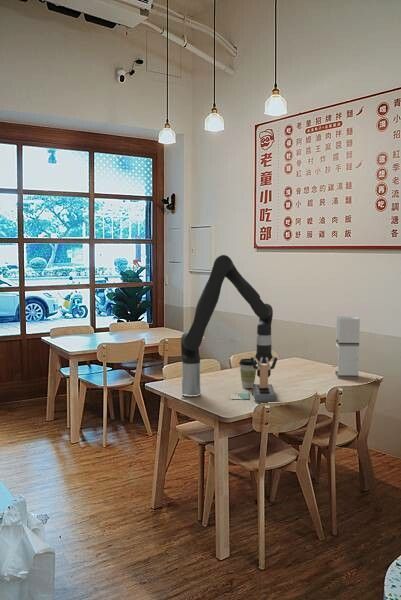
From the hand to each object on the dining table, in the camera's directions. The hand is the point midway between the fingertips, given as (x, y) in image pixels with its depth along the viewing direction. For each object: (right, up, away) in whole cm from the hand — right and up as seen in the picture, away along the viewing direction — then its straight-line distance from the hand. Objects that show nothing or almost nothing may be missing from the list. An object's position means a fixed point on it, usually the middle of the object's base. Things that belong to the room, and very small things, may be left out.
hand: (263, 376), depth 271 cm
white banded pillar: (+54, -6, +43) cm, 69 cm away
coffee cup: (-6, -9, +20) cm, 23 cm away
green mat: (-12, -10, +2) cm, 16 cm away
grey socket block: (0, -10, +1) cm, 11 cm away
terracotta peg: (0, -5, +1) cm, 5 cm away
